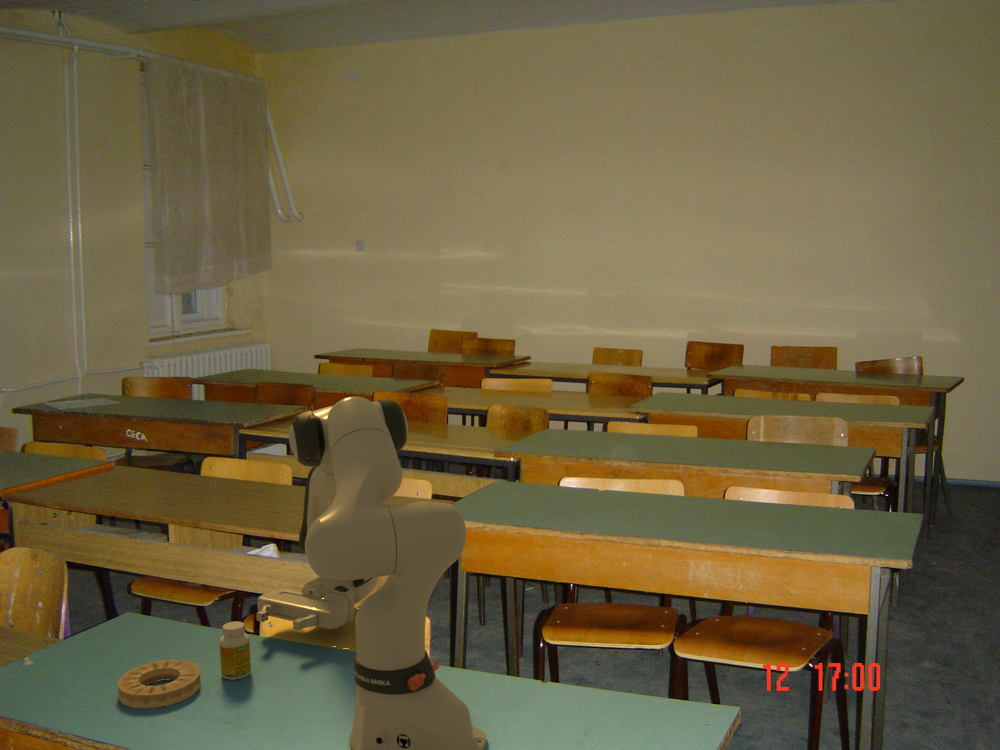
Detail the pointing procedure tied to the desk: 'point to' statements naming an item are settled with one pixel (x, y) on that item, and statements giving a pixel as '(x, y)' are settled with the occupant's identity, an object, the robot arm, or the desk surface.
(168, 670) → the plain brown donut
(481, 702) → the desk surface
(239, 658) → the supplement bottle
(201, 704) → the desk surface
